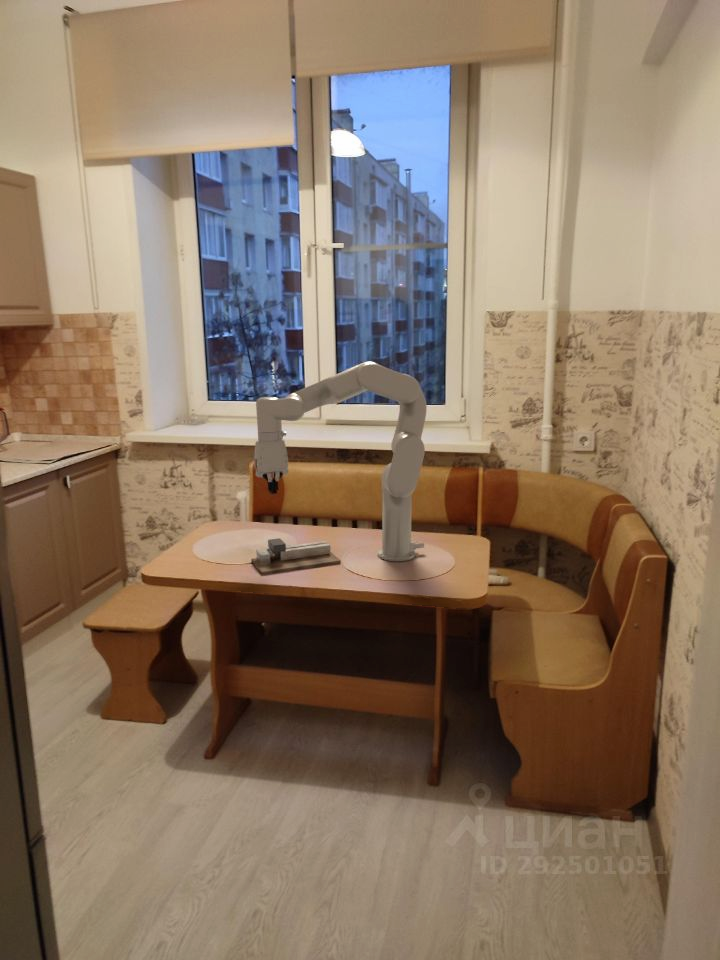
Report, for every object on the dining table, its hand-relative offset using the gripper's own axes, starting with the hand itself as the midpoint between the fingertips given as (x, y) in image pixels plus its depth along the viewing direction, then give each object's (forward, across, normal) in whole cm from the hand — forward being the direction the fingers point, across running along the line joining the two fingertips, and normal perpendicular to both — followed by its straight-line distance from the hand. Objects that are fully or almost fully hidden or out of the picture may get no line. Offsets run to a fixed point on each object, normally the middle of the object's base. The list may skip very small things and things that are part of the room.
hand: (273, 492), depth 214 cm
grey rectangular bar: (+21, -6, +4) cm, 23 cm away
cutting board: (+22, -4, +6) cm, 24 cm away
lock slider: (+18, +1, +4) cm, 18 cm away
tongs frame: (+21, -5, +4) cm, 22 cm away
